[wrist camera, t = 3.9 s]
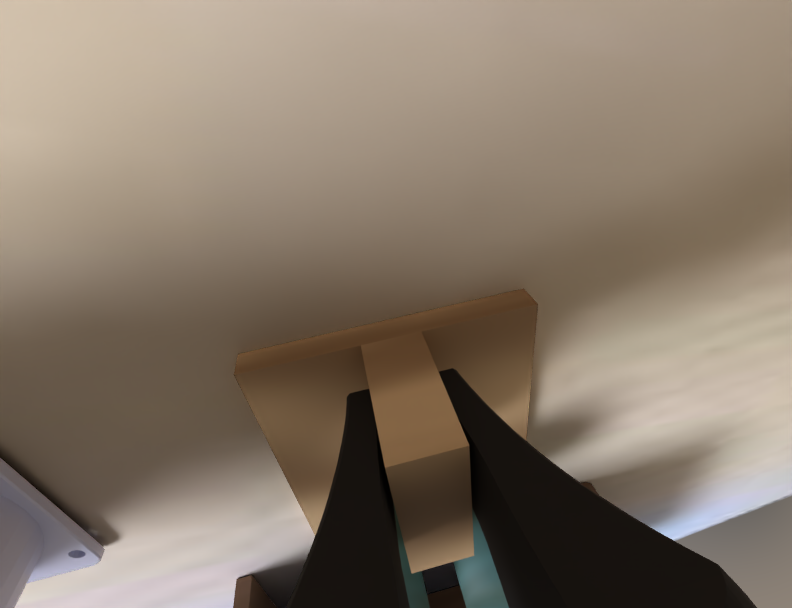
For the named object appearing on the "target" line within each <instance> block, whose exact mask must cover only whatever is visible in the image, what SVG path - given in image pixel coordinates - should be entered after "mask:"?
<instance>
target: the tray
mask: <svg viewBox="0 0 792 608" xmlns="http://www.w3.org/2000/svg"><path fill="white" fill-rule="evenodd" d="M537 308H538V304H537V303H536V302H535V301H534V299H533V298H532V297H531V296H530V295H529V294H528V293H527V292H526V291H525V290H524V289H520V290H515V291H511V292H507V293H502V294H498V295H494V296H489V297H485V298H480V299H476V300H472V301H467V302H463V303H459V304H454V305H450V306H446V307H441V308H437V309H432V310H428V311H424V312H419V313H415V314H411V315H406V316H402V317H398V318H393V319H389V320H384V321H380V322H376V323H371V324H367V325H363V326H358V327H354V328H350V329H345V330H341V331H336V332H332V333H328V334H323V335H319V336H315V337H310V338H306V339H302V340H297V341H293V342H288V343H284V344H280V345H275V346H271V347H267V348H262V349H258V350H254V351H249V352H245V353H240V354H238V357H237V362H236V367H235V372H234V376H235V378H236V380H237V382H238V384H239V386H240V388H241V390H242V392H243V394H244V396H245V398H246V400H247V402H248V404H249V406H250V408H251V410H252V412H253V414H254V416H255V418H256V420H257V422H258V424H259V425H260V427H261V429H262V431H263V433H264V435H265V437H266V439H267V441H268V443H269V445H270V447H271V449H272V451H273V453H274V455H275V457H276V459H277V461H278V463H279V465H280V467H281V469H282V471H283V473H284V475H285V477H286V479H287V481H288V483H289V485H290V487H291V489H292V491H293V493H294V495H295V497H296V499H297V501H298V503H299V505H300V507H301V508H302V510H303V512H304V514H305V516H306V518H307V520H308V522H309V524H310V526H311V528H312V530H313V532H314V534H315V536H316V533H317V530H318V527H319V524H320V521H321V518H322V515H323V512H324V509H325V506H326V503H327V499H328V496H329V492H330V489H331V485H332V481H333V477H334V474H335V470H336V466H337V462H338V457H339V452H340V447H341V442H342V437H343V431H344V425H345V417H346V404H347V396H348V395H349V394H350V393H353V392H357V391H361V390H365V389H369V390H370V395H371V400H372V405H373V410H374V415H375V420H376V425H377V430H378V435H379V440H380V445H381V450H382V456H383V461H384V466H385V470H386V474H387V478H388V482H389V486H390V490H391V494H392V498H393V504H394V512H395V521H396V529H397V537H398V546H399V553H400V559H401V566H402V571H403V576H404V581H405V586H406V591H407V596H408V601H409V606H410V608H430V606H429V601H428V597H427V593H426V588H425V584H424V580H423V575H422V571H423V570H426V569H430V568H433V567H437V566H440V565H444V564H447V563H451V562H453V564H454V567H455V571H456V574H457V577H458V581H459V584H460V588H461V591H462V594H463V598H464V601H465V605H466V608H509V606H508V603H507V600H506V597H505V594H504V591H503V588H502V585H501V582H500V579H499V576H498V573H497V571H496V568H495V565H494V562H493V559H492V556H491V553H490V550H489V547H488V544H487V542H486V539H485V537H484V534H483V532H482V529H481V526H480V524H479V522H478V520H477V517H476V515H475V513H474V511H473V508H472V495H471V472H470V449H469V443H468V441H467V439H466V436H465V434H464V432H463V429H462V427H461V424H460V422H459V420H458V417H457V415H456V413H455V410H454V408H453V405H452V403H451V401H450V398H449V396H448V393H447V391H446V389H445V386H444V384H443V382H442V379H441V377H440V374H439V371H443V370H447V369H451V368H454V369H455V370H457V371H458V373H459V374H460V375H461V376H462V377H463V379H464V380H465V381H466V382H467V383H468V384H469V386H470V387H471V388H472V389H473V390H474V391H475V392H476V393H477V394H478V395H479V396H480V398H481V399H482V400H483V401H484V402H485V403H486V404H487V405H488V406H489V407H490V408H491V409H492V410H493V411H494V412H495V413H496V414H497V415H498V416H499V417H500V418H501V419H503V420H504V421H505V422H506V423H507V424H508V425H509V426H510V427H511V428H512V429H513V430H514V431H515V432H516V433H518V434H519V435H520V436H521V437H522V438H523V439H525V440H526V435H527V424H528V412H529V401H530V389H531V378H532V366H533V355H534V343H535V331H536V320H537Z"/></svg>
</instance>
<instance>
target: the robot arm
mask: <svg viewBox="0 0 792 608" xmlns="http://www.w3.org/2000/svg"><path fill="white" fill-rule="evenodd" d="M439 374H440V377H441V379H442V382H443V384H444V386H445V389H446V391H447V393H448V396H449V398H450V401H451V403H452V405H453V408H454V410H455V413H456V415H457V417H458V420H459V422H460V424H461V427H462V429H463V432H464V434H465V436H466V439H467V441H468V443H469V449H470V472H471V495H472V508H473V511H474V513H475V515H476V517H477V520H478V522H479V524H480V526H481V529H482V532H483V534H484V537H485V539H486V542H487V544H488V547H489V550H490V553H491V556H492V559H493V562H494V565H495V568H496V571H497V573H498V576H499V579H500V582H501V585H502V588H503V591H504V594H505V597H506V600H507V603H508V606H509V608H757V607H756V606H755V605H754V604H753V602H752V601H751V600H750V599H749V598H748V596H747V595H746V594H745V593H744V592H743V591H742V589H741V588H740V587H739V586H738V585H737V584H736V583H735V582H734V581H733V580H732V579H731V578H730V577H729V576H728V575H727V574H726V572H725V571H724V570H723V569H722V568H721V567H720V566H719V565H718V564H716V563H714V562H712V561H711V560H709V559H707V558H705V557H703V556H701V555H699V554H697V553H695V552H694V551H691V550H690V549H688V548H686V547H684V546H682V545H681V544H679V543H677V542H675V541H673V540H672V539H670V538H668V537H666V536H664V535H662V534H661V533H659V532H657V531H656V530H654V529H652V528H650V527H649V526H647V525H645V524H644V523H642V522H640V521H639V520H637V519H635V518H633V517H632V516H630V515H628V514H627V513H625V512H624V511H622V510H621V509H619V508H618V507H616V506H615V505H613V504H611V503H610V502H608V501H607V500H605V499H604V498H602V497H601V496H599V495H598V494H596V493H594V492H593V491H591V490H590V489H588V488H587V487H585V486H584V485H583V484H581V483H580V482H578V481H577V480H576V479H574V478H573V477H571V476H570V475H569V474H567V473H566V472H564V471H563V470H562V469H560V468H559V467H558V466H557V465H555V464H554V463H553V462H551V461H550V460H549V459H547V458H546V457H545V456H544V455H542V454H541V453H540V452H539V451H537V450H536V449H535V448H534V447H533V446H531V445H530V444H529V443H528V442H527V441H526V440H525V439H523V438H522V437H521V436H520V435H519V434H518V433H516V432H515V431H514V430H513V429H512V428H511V427H510V426H509V425H508V424H507V423H506V422H505V421H504V420H503V419H501V418H500V417H499V416H498V415H497V414H496V413H495V412H494V411H493V410H492V409H491V408H490V407H489V406H488V405H487V404H486V403H485V402H484V401H483V400H482V399H481V398H480V396H479V395H478V394H477V393H476V392H475V391H474V390H473V389H472V388H471V387H470V386H469V384H468V383H467V382H466V381H465V380H464V379H463V377H462V376H461V375H460V374H459V373H458V371H457V370H455V369H454V368H451V369H447V370H443V371H439ZM104 550H105V549H104V548H103V546H102V545H101V544H99V543H98V542H97V541H96V540H95V539H94V538H92V537H91V536H90V535H89V534H88V533H87V532H86V531H84V530H83V529H82V528H81V527H80V526H79V525H77V524H76V523H75V522H74V521H73V520H72V519H70V518H69V517H68V516H67V515H66V514H65V513H64V512H62V511H61V510H60V509H59V508H58V507H57V506H55V505H54V504H53V503H52V502H51V501H50V500H49V499H47V498H46V497H45V496H44V495H43V494H42V493H40V492H39V491H38V490H37V489H36V488H35V487H33V486H32V485H31V484H30V483H29V482H28V481H27V480H25V479H24V478H23V477H22V476H21V475H20V474H18V473H17V472H16V471H15V470H14V469H13V468H12V467H10V466H9V465H8V464H7V463H6V462H5V461H3V460H2V459H1V458H0V608H14V607H15V605H16V603H17V601H18V599H19V597H20V596H21V594H22V592H23V590H24V588H25V586H26V584H27V583H30V582H33V581H37V580H41V579H45V578H48V577H52V576H56V575H60V574H63V573H67V572H71V571H75V570H78V569H82V568H86V567H90V566H93V565H95V564H97V563H99V562H100V561H101V559H102V556H103V553H104ZM286 608H410V606H409V601H408V596H407V591H406V586H405V581H404V576H403V571H402V566H401V559H400V553H399V546H398V537H397V529H396V521H395V512H394V504H393V498H392V494H391V490H390V486H389V482H388V478H387V474H386V470H385V466H384V461H383V456H382V450H381V445H380V440H379V435H378V430H377V425H376V420H375V415H374V410H373V405H372V400H371V395H370V390H369V389H365V390H361V391H357V392H353V393H350V394H349V395H348V396H347V404H346V417H345V425H344V431H343V437H342V442H341V447H340V452H339V457H338V462H337V466H336V470H335V474H334V477H333V481H332V485H331V489H330V492H329V496H328V499H327V503H326V506H325V509H324V512H323V515H322V518H321V521H320V524H319V527H318V530H317V533H316V536H315V539H314V541H313V544H312V547H311V549H310V552H309V554H308V557H307V559H306V562H305V565H304V567H303V570H302V572H301V575H300V577H299V579H298V582H297V584H296V587H295V589H294V591H293V593H292V596H291V598H290V600H289V602H288V604H287V606H286Z"/></svg>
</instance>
